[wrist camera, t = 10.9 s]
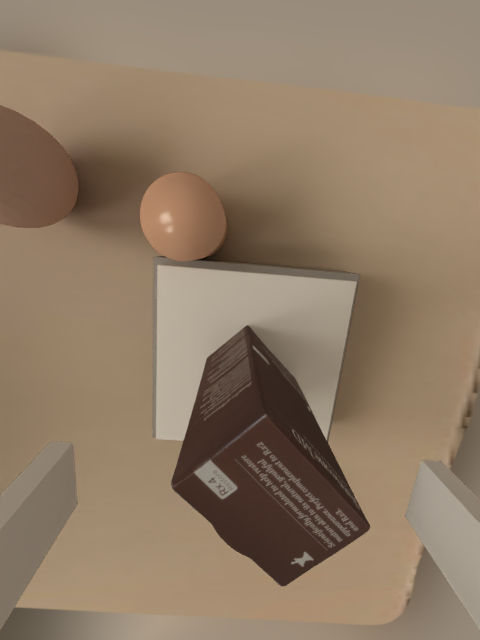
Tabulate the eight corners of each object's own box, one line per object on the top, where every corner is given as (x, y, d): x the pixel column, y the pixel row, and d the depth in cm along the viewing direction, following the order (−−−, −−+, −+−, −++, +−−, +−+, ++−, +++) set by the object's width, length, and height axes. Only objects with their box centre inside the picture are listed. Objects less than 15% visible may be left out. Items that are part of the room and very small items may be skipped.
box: (299, 375, 21) (379, 534, 9) (254, 409, 21) (274, 597, 10) (249, 318, 20) (267, 415, 8) (203, 355, 20) (157, 496, 9)
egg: (95, 240, 22) (0, 233, 13) (12, 221, 22) (-144, 200, 13) (103, 151, 20) (1, 75, 12) (14, 129, 20) (-163, 33, 11)
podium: (162, 415, 26) (149, 443, 22) (165, 256, 22) (150, 256, 18) (316, 425, 26) (329, 455, 23) (343, 271, 23) (365, 275, 19)
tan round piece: (165, 256, 22) (140, 257, 17) (166, 191, 21) (139, 168, 15) (225, 261, 23) (221, 264, 17) (229, 196, 21) (226, 176, 16)
